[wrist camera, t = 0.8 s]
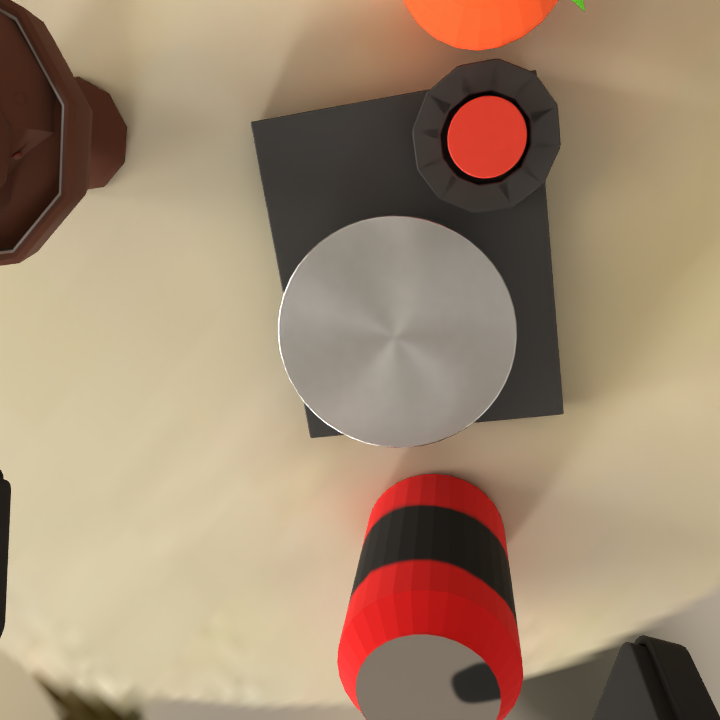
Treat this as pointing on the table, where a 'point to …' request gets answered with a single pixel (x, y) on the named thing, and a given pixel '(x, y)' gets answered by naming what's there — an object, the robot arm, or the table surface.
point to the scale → (428, 200)
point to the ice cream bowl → (47, 135)
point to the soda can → (432, 608)
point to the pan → (397, 331)
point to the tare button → (487, 136)
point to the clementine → (480, 20)
